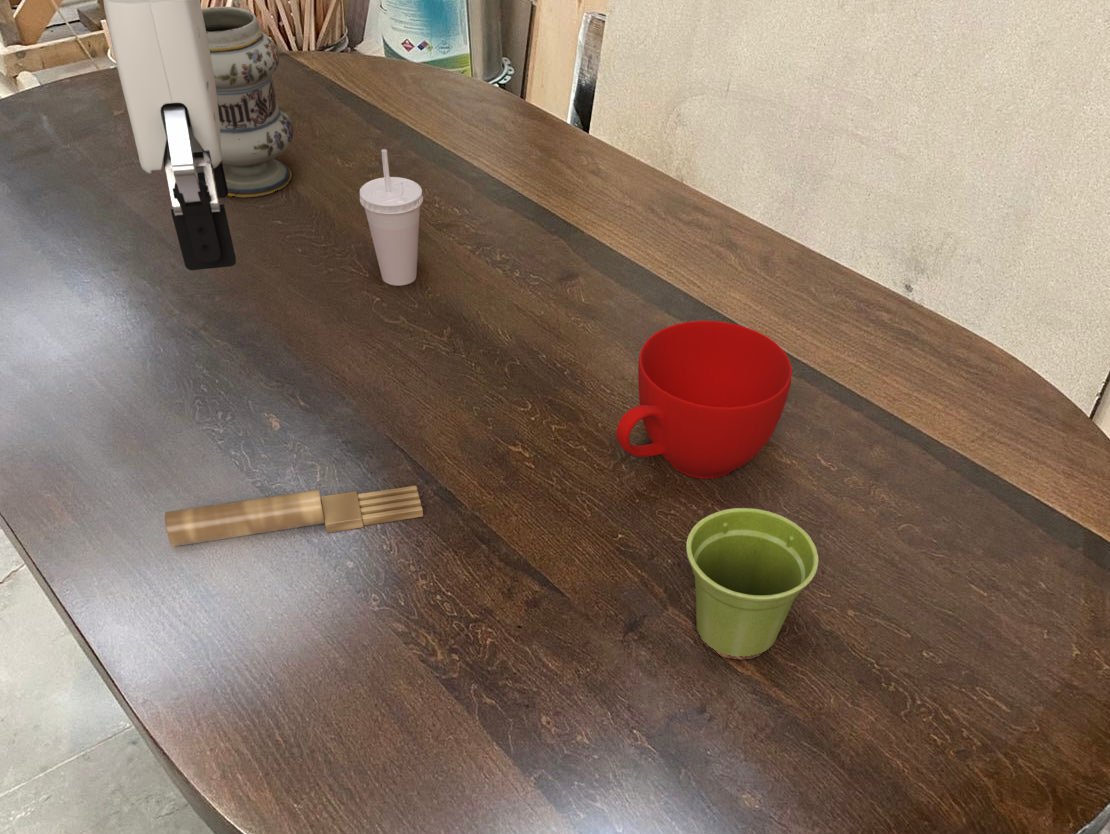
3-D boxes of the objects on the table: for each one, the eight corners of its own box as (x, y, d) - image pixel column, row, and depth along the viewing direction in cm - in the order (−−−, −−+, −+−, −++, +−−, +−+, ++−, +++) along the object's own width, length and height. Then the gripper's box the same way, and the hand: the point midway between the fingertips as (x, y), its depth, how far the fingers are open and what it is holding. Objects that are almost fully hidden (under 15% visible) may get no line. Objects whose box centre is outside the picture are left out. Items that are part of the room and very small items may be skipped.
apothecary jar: (214, 153, 133) (180, -5, 120) (310, 159, 133) (286, 2, 120) (184, 199, 125) (144, 34, 112) (287, 205, 125) (259, 42, 112)
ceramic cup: (567, 462, 95) (570, 368, 88) (704, 395, 103) (717, 304, 96) (665, 542, 89) (677, 448, 82) (803, 464, 97) (825, 371, 89)
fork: (173, 557, 85) (164, 531, 83) (172, 527, 87) (164, 501, 85) (423, 518, 89) (421, 493, 87) (416, 490, 92) (414, 465, 90)
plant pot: (668, 588, 85) (679, 507, 79) (784, 586, 86) (804, 506, 80) (682, 680, 79) (695, 599, 72) (807, 677, 80) (831, 597, 73)
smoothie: (358, 285, 114) (342, 155, 104) (384, 256, 118) (370, 129, 108) (414, 297, 113) (402, 167, 103) (438, 268, 117) (429, 140, 107)
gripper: (77, -93, 66) (150, 178, 78) (65, 5, 54) (152, 302, 67) (205, -96, 67) (256, 169, 80) (217, -2, 56) (275, 289, 69)
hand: (208, 230), depth 73 cm, fingers open, 9 cm apart
